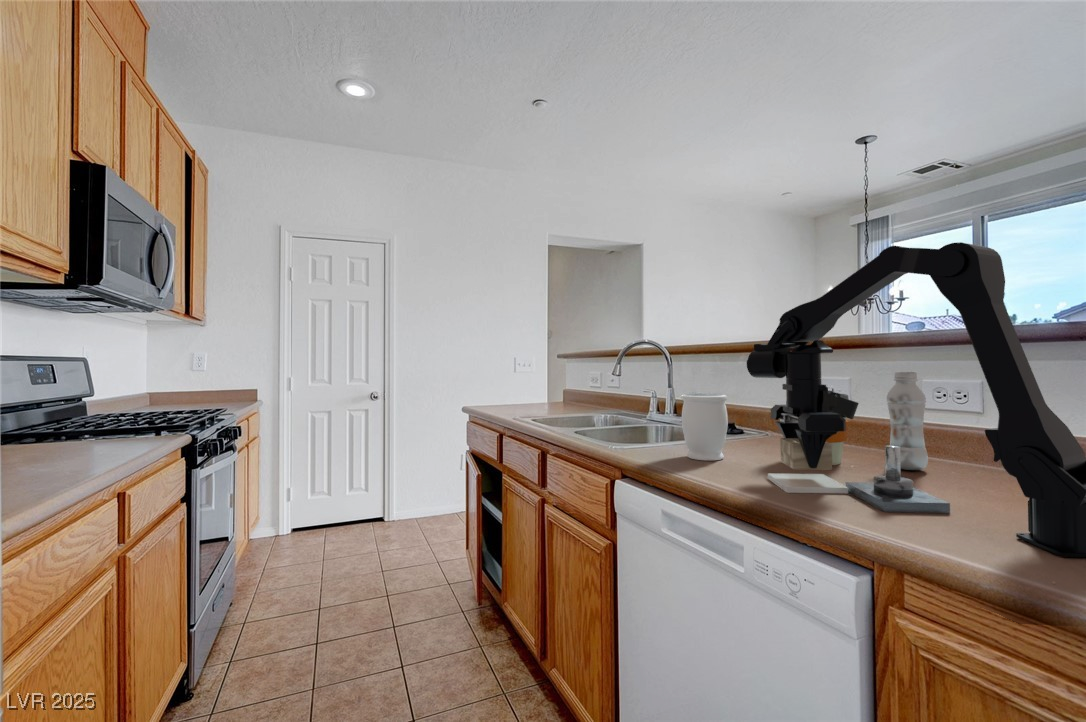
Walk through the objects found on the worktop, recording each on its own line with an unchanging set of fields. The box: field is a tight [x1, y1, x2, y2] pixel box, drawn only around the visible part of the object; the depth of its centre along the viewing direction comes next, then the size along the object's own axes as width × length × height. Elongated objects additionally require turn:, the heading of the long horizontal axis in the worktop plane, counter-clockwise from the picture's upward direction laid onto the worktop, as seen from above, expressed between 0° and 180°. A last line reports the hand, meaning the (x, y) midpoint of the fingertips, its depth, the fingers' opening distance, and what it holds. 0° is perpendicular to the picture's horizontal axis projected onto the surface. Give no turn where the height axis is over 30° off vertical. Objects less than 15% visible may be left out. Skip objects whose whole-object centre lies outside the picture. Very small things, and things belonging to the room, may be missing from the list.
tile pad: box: [767, 472, 849, 495], centre depth 88 cm, size 10×10×1 cm
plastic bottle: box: [886, 371, 929, 471], centre depth 99 cm, size 6×7×20 cm
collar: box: [779, 437, 833, 471], centre depth 88 cm, size 6×6×4 cm
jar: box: [680, 393, 729, 462], centre depth 115 cm, size 11×10×15 cm
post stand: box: [845, 445, 951, 514], centre depth 78 cm, size 12×9×9 cm
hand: (805, 463), depth 88 cm, fingers closed on collar, 6 cm apart
